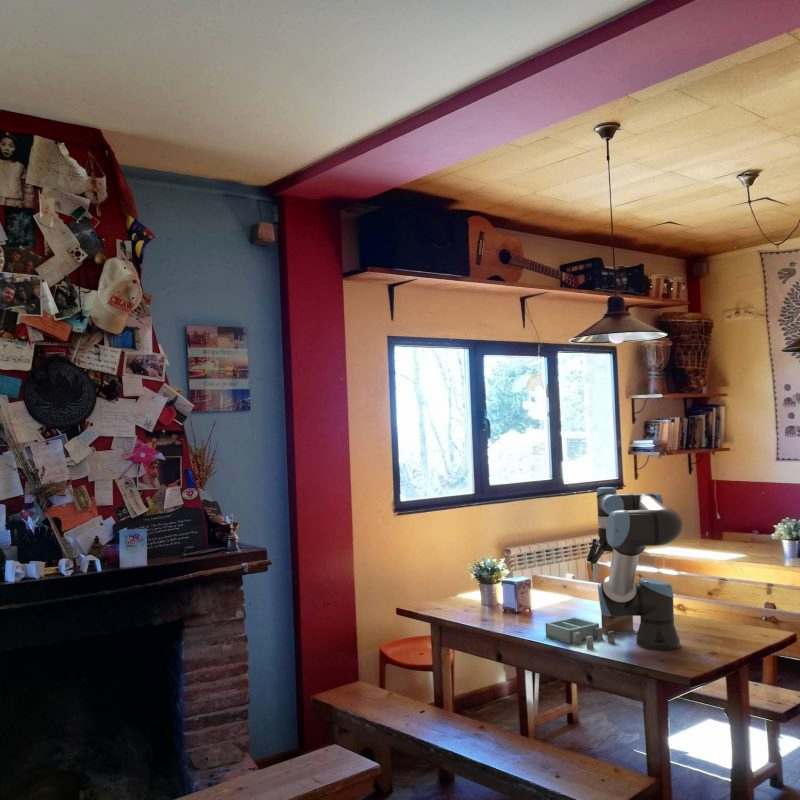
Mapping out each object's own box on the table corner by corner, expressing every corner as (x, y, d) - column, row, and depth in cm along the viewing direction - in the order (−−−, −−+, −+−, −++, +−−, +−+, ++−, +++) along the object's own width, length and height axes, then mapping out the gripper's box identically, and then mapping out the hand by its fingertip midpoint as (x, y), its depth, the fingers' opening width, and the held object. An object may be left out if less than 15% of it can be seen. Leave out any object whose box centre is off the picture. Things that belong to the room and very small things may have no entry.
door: (635, 629, 308) (634, 606, 308) (609, 635, 300) (608, 612, 300) (627, 627, 311) (626, 604, 311) (601, 633, 303) (601, 610, 304)
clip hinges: (614, 642, 291) (614, 631, 291) (588, 648, 284) (588, 637, 284) (597, 637, 298) (597, 626, 298) (571, 643, 291) (571, 632, 291)
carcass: (599, 637, 298) (598, 623, 299) (570, 643, 290) (569, 630, 291) (574, 629, 309) (574, 617, 310) (545, 636, 301) (545, 623, 302)
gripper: (641, 528, 300) (643, 585, 299) (588, 524, 320) (590, 577, 319) (628, 530, 296) (631, 587, 295) (576, 525, 316) (578, 579, 314)
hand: (610, 582), depth 307 cm, fingers open, 13 cm apart
